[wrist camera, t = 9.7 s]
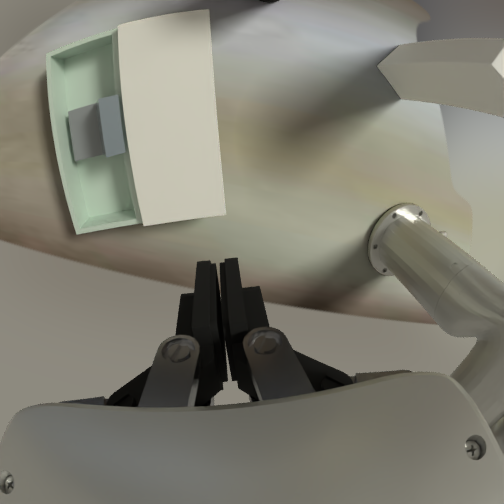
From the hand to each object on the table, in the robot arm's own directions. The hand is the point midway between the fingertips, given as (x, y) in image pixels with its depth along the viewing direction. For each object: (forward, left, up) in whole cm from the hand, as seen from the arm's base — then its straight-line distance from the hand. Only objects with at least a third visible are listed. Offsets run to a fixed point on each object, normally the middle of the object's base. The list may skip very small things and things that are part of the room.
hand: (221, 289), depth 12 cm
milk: (-26, -13, -24) cm, 38 cm away
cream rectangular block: (+3, -7, -24) cm, 25 cm away
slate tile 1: (+9, -7, -20) cm, 23 cm away
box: (+12, -7, -24) cm, 27 cm away
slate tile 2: (+13, -7, -21) cm, 26 cm away
